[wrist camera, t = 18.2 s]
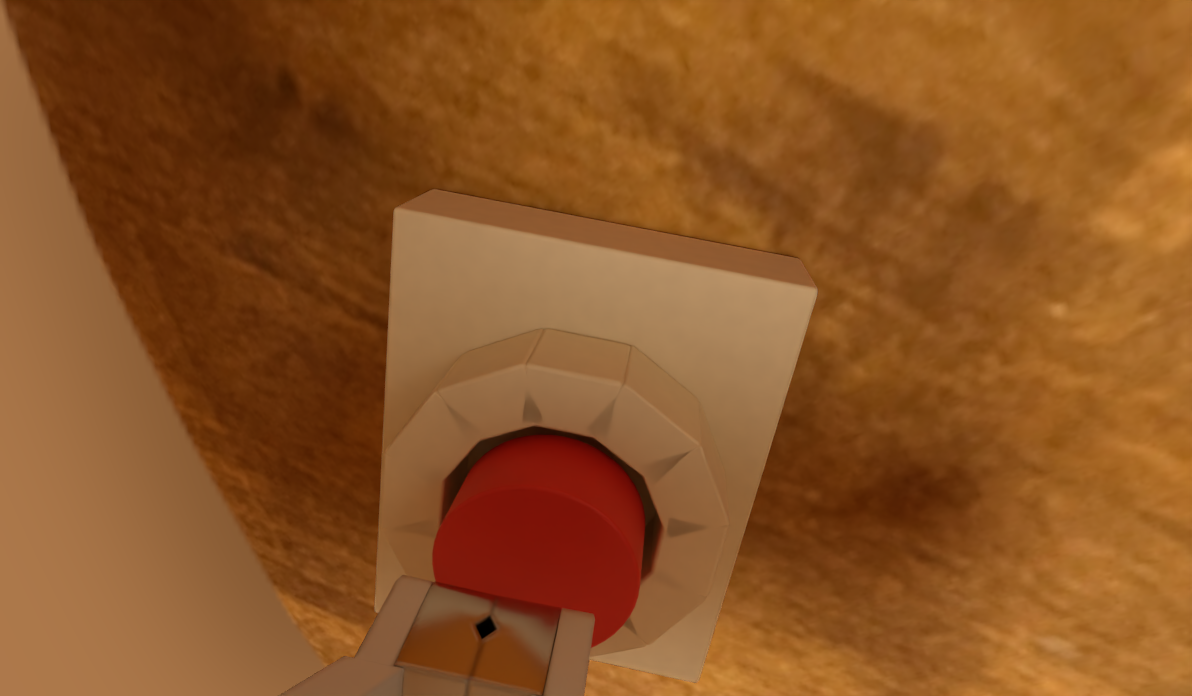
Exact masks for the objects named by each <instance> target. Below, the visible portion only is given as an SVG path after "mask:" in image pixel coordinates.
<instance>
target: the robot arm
mask: <svg viewBox="0 0 1192 696" xmlns="http://www.w3.org/2000/svg"><path fill="white" fill-rule="evenodd" d="M560 612H561V614H560ZM559 617H560V619H559ZM558 623H559V624H558ZM594 623H595V617H594V614H592V613H586V612H581V611H576V610H571V609H566V608H562V610H561V608H559V607H554V606H549V605H544V604H539V603H534V602H529V601H523V600H518V599H513V598H508V597H503V596H496V595H492V594H488V593H483V592H479V591H475V590H470V589H466V588H462V587H457V586H453V585H449V584H444V583H440V582H436V581H435V582H432V581H428V580H424V579H420V578H415V577H411V576H407V575H402V576H401V577H400V578H398V579H397V580H396V581H395V583H394V585H393V587H392V589H391V591H390V592H389V594H388V596H387V598H386V600H385V602H384V603H383V605H382V607H381V609H380V611H379V613H378V615H377V616H376V618H375V620H374V622H373V624H372V626H371V627H370V629H369V631H368V633H367V635H366V637H365V639H364V640H363V642H362V644H361V646H360V648H359V650H358V651H357V653H356V655H355V657H354V658H353V657H347V656H343V657H341V658H340V659H338V660H337V661H335V662H333V663H332V664H330V665H328V666H327V667H325V668H323V669H322V670H320V671H319V672H317V673H315V674H314V675H312V676H310V677H309V678H307V679H306V680H304V681H302V682H300V683H299V684H297V685H295V686H294V687H292V688H291V689H289V690H287V691H286V692H284V693H282V694H281V695H279V696H584V692H585V685H586V678H587V671H588V665H589V658H590V651H591V644H592V637H593V630H594Z"/></svg>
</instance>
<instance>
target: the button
mask: <svg viewBox="0 0 1192 696" xmlns="http://www.w3.org/2000/svg"><path fill="white" fill-rule="evenodd" d="M644 535H645V513H644V507H643V503H642V500H641V497H640V494H639V492H638V490H637V488H636V486H635V484H634V483H633V482H632V480H631V479H630V477H629V476H628V474H627V473H626V472H625V471H624V470H623V469H622V467H621V466H620V465H619V464H617V463H616V462H615V461H614V460H613V459H612V458H611V457H609V456H608V455H606V454H605V453H603V452H602V451H600V450H599V449H597V448H595V447H593V446H591V445H589V444H587V443H584V442H581V441H579V440H576V439H572V438H568V437H564V436H557V435H541V434H540V435H528V436H523V437H519V438H515V439H512V440H509V441H506V442H504V443H502V444H500V445H498V446H496V447H494V448H492V449H491V450H490V451H488V452H487V453H485V454H484V455H483V456H482V457H481V458H480V459H479V460H478V461H477V462H476V463H475V464H474V466H473V467H472V468H471V469H470V471H469V473H468V475H467V477H466V479H465V480H464V482H463V484H462V486H461V488H460V490H459V492H458V494H457V495H456V497H455V499H454V501H453V503H452V505H451V507H450V509H449V511H448V512H447V514H446V516H445V518H444V520H443V522H442V524H441V526H440V528H439V529H438V532H437V534H436V537H435V540H434V545H433V551H432V565H433V572H434V577H435V581H436V582H440V583H444V584H449V585H453V586H457V587H462V588H466V589H470V590H475V591H479V592H483V593H488V594H492V595H496V596H503V597H508V598H513V599H518V600H523V601H529V602H534V603H539V604H544V605H549V606H554V607H559V608H561V610H562V608H566V609H571V610H576V611H581V612H586V613H592V614H594V617H595V623H594V630H593V637H592V644H591V648H592V647H595V646H597V645H598V644H600V643H602V642H604V641H606V640H607V639H608V638H610V637H611V636H613V635H614V634H615V633H616V632H617V631H618V630H619V629H620V628H621V627H622V626H623V625H624V623H625V622H626V621H627V619H628V618H629V617H630V615H631V613H632V611H633V609H634V608H635V605H636V602H637V599H638V596H639V589H640V581H641V569H642V558H643V546H644ZM560 614H561V612H560ZM559 619H560V617H559ZM558 624H559V623H558Z"/></svg>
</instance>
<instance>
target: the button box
mask: <svg viewBox="0 0 1192 696" xmlns="http://www.w3.org/2000/svg"><path fill="white" fill-rule="evenodd" d="M817 294H818V289H817V287H816V285H815V284H814V282H813V280H812V279H811V277H810V275H809V273H808V272H807V270H806V268H805V267H804V265H803V263H802V262H801V260H800V259H798V258H794V257H789V256H784V255H778V254H773V253H768V252H763V251H757V250H752V249H747V248H742V247H736V246H731V245H726V244H721V243H715V242H710V241H705V240H700V239H694V238H689V237H684V236H679V235H673V234H668V233H663V232H658V231H652V230H647V229H642V228H637V227H631V226H626V225H621V224H616V223H610V222H605V221H600V220H595V219H589V218H584V217H579V216H574V215H568V214H563V213H558V212H553V211H547V210H542V209H537V208H532V207H526V206H521V205H516V204H511V203H505V202H500V201H495V200H490V199H484V198H479V197H474V196H469V195H463V194H458V193H453V192H448V191H442V190H437V189H432V190H430V191H428V192H426V193H424V194H422V195H420V196H418V197H416V198H414V199H412V200H410V201H408V202H406V203H404V204H402V205H400V206H398V207H396V208H395V209H394V212H393V233H392V253H391V274H390V295H389V316H388V337H387V358H386V378H385V399H384V420H383V441H382V462H381V482H380V503H379V524H378V545H377V566H376V587H375V607H374V610H375V612H377V613H379V611H380V609H381V607H382V605H383V603H384V602H385V600H386V598H387V596H388V594H389V592H390V591H391V589H392V587H393V585H394V583H395V581H396V580H397V579H398V578H400V577H401V576H402V575H407V576H411V577H415V578H420V579H424V580H428V581H432V582H435V577H434V572H433V565H432V551H433V545H434V540H435V537H436V534H437V532H438V529H439V528H440V526H441V524H442V522H443V520H444V518H445V516H446V514H447V512H448V511H449V509H450V507H451V505H452V503H453V501H454V499H455V497H456V495H457V494H458V492H459V490H460V488H461V486H462V484H463V482H464V480H465V479H466V477H467V475H468V473H469V471H470V469H471V468H472V467H473V466H474V464H475V463H476V462H477V461H478V460H479V459H480V458H481V457H482V456H483V455H484V454H485V453H487V452H488V451H490V450H491V449H492V448H494V447H496V446H498V445H500V444H502V443H504V442H506V441H509V440H512V439H515V438H519V437H523V436H528V435H540V434H541V435H557V436H564V437H568V438H572V439H576V440H579V441H581V442H584V443H587V444H589V445H591V446H593V447H595V448H597V449H599V450H600V451H602V452H603V453H605V454H606V455H608V456H609V457H611V458H612V459H613V460H614V461H615V462H616V463H617V464H619V465H620V466H621V467H622V469H623V470H624V471H625V472H626V473H627V474H628V476H629V477H630V479H631V480H632V482H633V483H634V484H635V486H636V488H637V490H638V492H639V494H640V497H641V500H642V503H643V507H644V513H645V535H644V546H643V558H642V569H641V581H640V589H639V596H638V599H637V602H636V605H635V608H634V609H633V611H632V613H631V615H630V617H629V618H628V619H627V621H626V622H625V623H624V625H623V626H622V627H621V628H620V629H619V630H618V631H617V632H616V633H615V634H614V635H613V636H611V637H610V638H608V639H607V640H606V641H604V642H602V643H600V644H598V645H597V646H595V647H592V648H591V651H590V658H589V660H593V661H598V662H602V663H607V664H612V665H616V666H621V667H625V668H630V669H634V670H639V671H643V672H648V673H652V674H657V675H661V676H666V677H671V678H675V679H680V680H684V681H689V682H693V683H697V682H698V681H699V679H700V676H701V672H702V669H703V666H704V663H705V659H706V656H707V653H708V650H709V646H710V643H711V640H712V637H713V633H714V630H715V627H716V623H717V620H718V617H719V614H720V610H721V607H722V604H723V601H724V597H725V594H726V591H727V588H728V584H729V581H730V578H731V575H732V571H733V568H734V565H735V562H736V558H737V555H738V552H739V549H740V545H741V542H742V539H743V535H744V532H745V529H746V526H747V522H748V519H749V516H750V513H751V509H752V506H753V503H754V500H755V496H756V493H757V490H758V487H759V483H760V480H761V477H762V474H763V470H764V467H765V464H766V461H767V457H768V454H769V451H770V447H771V444H772V441H773V438H774V434H775V431H776V428H777V425H778V421H779V418H780V415H781V412H782V408H783V405H784V402H785V399H786V395H787V392H788V389H789V386H790V382H791V379H792V376H793V372H794V369H795V366H796V363H797V359H798V356H799V353H800V350H801V346H802V343H803V340H804V337H805V333H806V330H807V327H808V324H809V320H810V317H811V314H812V311H813V307H814V304H815V301H816V298H817Z"/></svg>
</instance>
